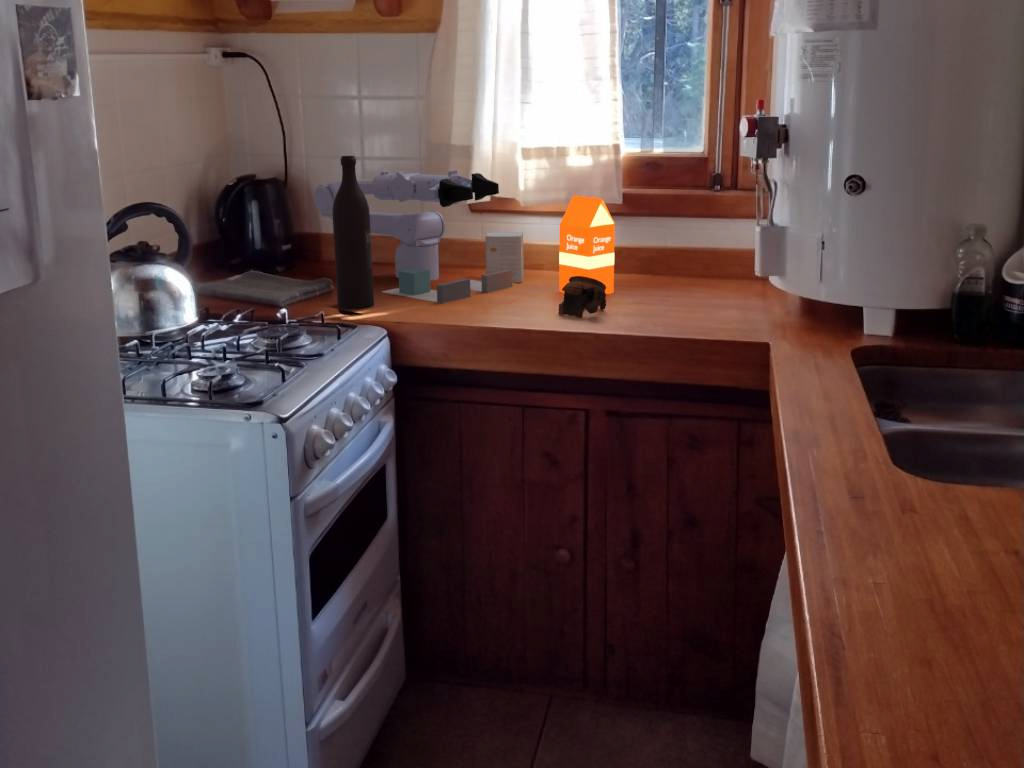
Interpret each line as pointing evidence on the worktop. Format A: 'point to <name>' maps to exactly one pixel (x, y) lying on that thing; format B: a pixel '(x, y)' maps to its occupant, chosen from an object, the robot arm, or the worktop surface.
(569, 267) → the orange juice
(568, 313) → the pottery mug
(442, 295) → the grey piece
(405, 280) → the teal block
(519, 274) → the small box
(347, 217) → the wine bottle
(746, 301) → the worktop surface
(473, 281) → the grey l-shaped block
